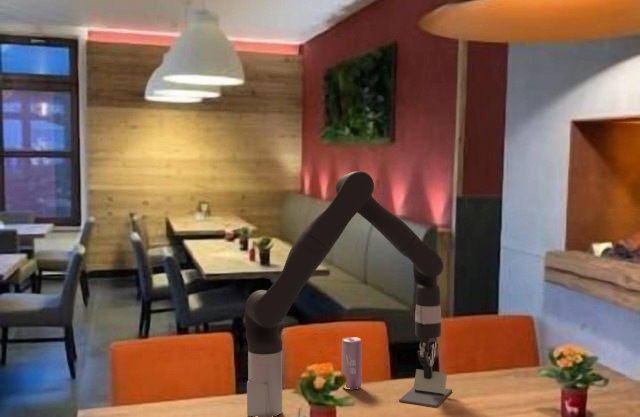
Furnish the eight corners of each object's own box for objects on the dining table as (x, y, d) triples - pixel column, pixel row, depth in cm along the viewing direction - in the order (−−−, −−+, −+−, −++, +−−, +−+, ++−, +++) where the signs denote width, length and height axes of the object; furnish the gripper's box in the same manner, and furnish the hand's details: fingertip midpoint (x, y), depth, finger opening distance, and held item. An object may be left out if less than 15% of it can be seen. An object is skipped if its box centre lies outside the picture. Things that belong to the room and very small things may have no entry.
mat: (436, 407, 186) (436, 405, 186) (399, 401, 191) (399, 399, 191) (451, 391, 200) (451, 389, 200) (416, 386, 205) (416, 384, 205)
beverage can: (361, 385, 207) (361, 337, 206) (360, 391, 201) (360, 341, 200) (342, 384, 207) (342, 336, 207) (341, 390, 201) (341, 341, 201)
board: (442, 393, 194) (445, 372, 196) (413, 389, 198) (416, 369, 200) (444, 394, 195) (447, 374, 198) (415, 390, 199) (418, 370, 202)
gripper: (422, 314, 203) (422, 370, 204) (408, 323, 191) (408, 382, 192) (446, 316, 200) (446, 374, 201) (433, 325, 188) (433, 386, 189)
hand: (427, 378), depth 196 cm, fingers closed
